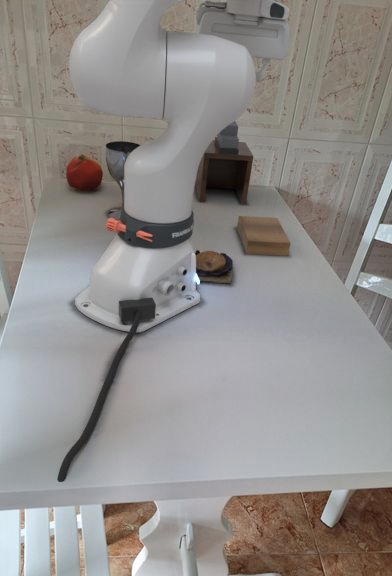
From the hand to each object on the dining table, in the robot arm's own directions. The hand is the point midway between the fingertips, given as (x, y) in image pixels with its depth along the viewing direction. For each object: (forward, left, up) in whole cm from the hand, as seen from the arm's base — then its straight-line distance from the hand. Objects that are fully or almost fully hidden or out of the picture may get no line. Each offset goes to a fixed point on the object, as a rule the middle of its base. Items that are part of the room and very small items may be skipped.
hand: (237, 79), depth 110 cm
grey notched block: (+2, +2, -16) cm, 16 cm away
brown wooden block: (-17, -19, -28) cm, 37 cm away
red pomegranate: (-20, +29, -28) cm, 45 cm away
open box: (+2, +2, -28) cm, 28 cm away
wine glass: (-26, +12, -28) cm, 40 cm away
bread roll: (-36, -17, -28) cm, 48 cm away
